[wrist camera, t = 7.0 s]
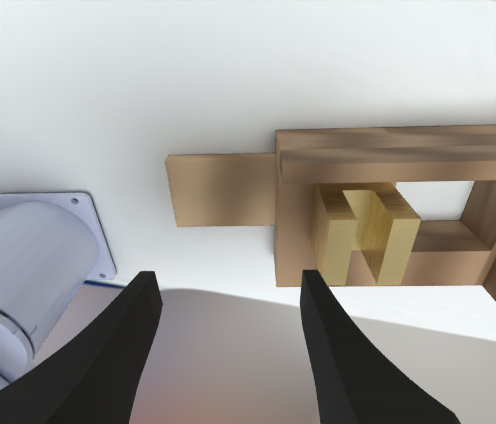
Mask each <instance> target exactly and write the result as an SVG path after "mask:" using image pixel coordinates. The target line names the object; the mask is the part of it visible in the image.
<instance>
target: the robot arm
mask: <svg viewBox="0 0 496 424" xmlns="http://www.w3.org/2000/svg"><path fill="white" fill-rule="evenodd" d="M74 198H76V199H77V200H78V202H77V201H75V200H74ZM102 273H103V274H102ZM115 276H116V270H115V267H114V265H113V262H112V259H111V256H110V253H109V250H108V247H107V244H106V241H105V238H104V235H103V232H102V229H101V227H100V224H99V221H98V218H97V215H96V212H95V209H94V206H93V203H92V200H91V198H90V196H89V195H88V194H86V193H30V194H0V424H129V419H130V415H131V411H132V407H133V402H134V399H135V395H136V390H137V387H138V384H139V380H140V377H141V374H142V371H143V368H144V366H145V363H146V360H147V357H148V354H149V351H150V349H151V346H152V343H153V340H154V337H155V334H156V331H157V328H158V324H159V319H160V315H161V311H162V306H163V303H162V299H161V295H160V291H159V287H158V283H157V279H156V275H155V271H140V272H139V273H138V274H137V276H136V277H135V278H134V279H133V280H132V281H131V282H130V283H129V284H128V285H127V286H126V287H125V289H124V290H123V291H122V292H121V293H120V294H119V295H118V296H117V297H116V298H115V299H114V300H113V301H112V302H111V303H110V304H109V305H108V307H107V308H106V309H105V310H104V311H103V312H102V313H100V314H99V315H98V316H97V317H96V318H95V319H94V320H93V321H92V322H91V323H90V324H89V325H88V326H87V327H86V328H85V329H83V330H82V331H81V332H80V333H79V334H78V335H77V336H75V337H74V338H73V339H72V340H71V341H70V342H68V343H67V344H66V345H65V346H63V347H62V348H61V349H59V350H58V351H57V352H55V353H54V354H53V355H51V356H50V357H49V358H47V359H46V360H44V361H43V362H42V363H41V364H39V365H38V366H35V365H34V363H33V358H34V357H35V356H36V354H37V353H38V351H39V350H40V348H41V347H42V345H43V343H44V342H45V340H46V339H47V337H48V336H49V334H50V333H51V331H52V330H53V328H54V327H55V325H56V324H57V322H58V321H59V319H60V318H61V316H62V314H63V313H64V311H65V310H66V308H67V307H68V305H69V304H70V302H71V301H72V299H73V298H74V296H75V295H76V293H77V292H78V290H79V289H80V287H81V285H82V284H83V282H84V281H85V280H111V279H114V278H115ZM300 309H301V318H302V326H303V331H304V335H305V340H306V345H307V349H308V353H309V357H310V362H311V367H312V371H313V375H314V381H315V386H316V392H317V400H318V407H319V415H320V423H321V424H461V423H460V421H459V420H458V418H457V417H456V415H455V414H454V413H453V412H452V411H450V410H449V409H448V408H446V407H445V406H444V405H442V404H441V403H440V402H438V401H437V400H436V399H434V398H433V397H432V396H430V395H429V394H427V393H426V392H425V391H424V390H423V389H421V388H420V387H419V386H418V385H417V384H415V383H414V382H413V381H412V380H410V379H409V378H408V377H407V376H406V375H405V374H403V372H402V371H400V370H399V369H398V368H397V367H396V366H395V365H394V364H393V363H392V362H390V361H389V360H388V359H387V358H386V357H385V356H384V355H383V354H382V353H381V352H380V351H379V350H378V349H377V348H376V347H375V346H374V345H373V344H372V343H371V342H370V340H369V339H368V338H367V337H366V336H365V335H364V334H363V333H362V331H361V330H360V329H359V328H358V327H357V326H356V324H355V323H354V322H353V321H352V319H351V318H350V317H349V316H348V314H347V313H346V312H345V310H344V309H343V308H342V306H341V305H340V303H339V302H338V301H337V299H336V298H335V296H334V295H333V293H332V292H331V290H330V289H329V287H328V286H327V284H326V282H325V281H324V279H323V277H322V276H321V274H320V272H319V271H318V270H303V271H302V283H301V295H300Z"/></svg>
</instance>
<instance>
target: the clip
mask: <svg viewBox="0 0 496 424" xmlns="http://www.w3.org/2000/svg"><path fill="white" fill-rule="evenodd" d="M420 222H421V218H420V217H419V216H418V214H417V213H416V212H415V211H414V210H413V208H412V207H411V206H410V205H409V204H408V202H407V201H406V200H405V199H404V198H403V197H402V195H401V194H400V193H399V192H398V191H397V189H396V188H395V187H394V186H393V185H392V183H391V182H370V183H317V184H315V188H314V199H313V210H312V221H311V232H310V241H311V245H312V249H313V253H314V257H315V261H316V265H317V269H318V271H319V272H320V274H321V276H322V277H323V279H324V281H325V282H326V284H327V285H345V283H346V278H347V273H348V267H349V262H350V256H351V251H352V250H361V252H362V254H363V256H364V258H365V260H366V263H367V265H368V267H369V269H370V271H371V273H372V276H373V278H374V280H375V282H376V284H377V285H401V282H402V279H403V275H404V272H405V269H406V266H407V263H408V260H409V256H410V253H411V250H412V247H413V244H414V241H415V237H416V234H417V231H418V228H419V225H420Z"/></svg>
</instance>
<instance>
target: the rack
mask: <svg viewBox="0 0 496 424" xmlns="http://www.w3.org/2000/svg"><path fill="white" fill-rule="evenodd" d="M165 164H166V169H167V175H168V180H169V185H170V191H171V196H172V202H173V207H174V213H175V218H176V224H177V227H195V226H264V225H274V262H275V275H276V287H301V283H302V271H303V270H318V269H317V265H316V261H315V257H314V253H313V249H312V245H311V241H310V232H311V221H312V210H313V199H314V188H315V184H317V183H370V182H391V183H392V185H393V186H394V187H395V186H396V182H423V181H475V184H474V187H473V189H472V192H471V194H470V197H469V199H468V202H467V204H466V207H465V209H464V212H463V214H462V217H461V219H460V221H421V222H420V225H419V228H418V231H417V234H416V237H415V241H414V244H413V247H412V250H411V253H410V256H409V260H408V263H407V266H406V269H405V272H404V275H403V279H402V282H401V285H377V284H376V282H375V280H374V278H373V276H372V273H371V271H370V269H369V267H368V265H367V263H366V260H365V258H364V256H363V254H362V252H361V250H352V251H351V256H350V262H349V267H348V273H347V278H346V283H345V285H327V286H328V287H338V286H462V285H482V286H483V287H484V288H485V290H486V291H487V292H488V293H489V294H490V295H491V297H492V298H493V299H494V300H495V301H496V125H463V126H422V127H382V128H341V129H300V130H276V153H251V154H206V155H169V156H168V157H167V159H166V160H165Z"/></svg>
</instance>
